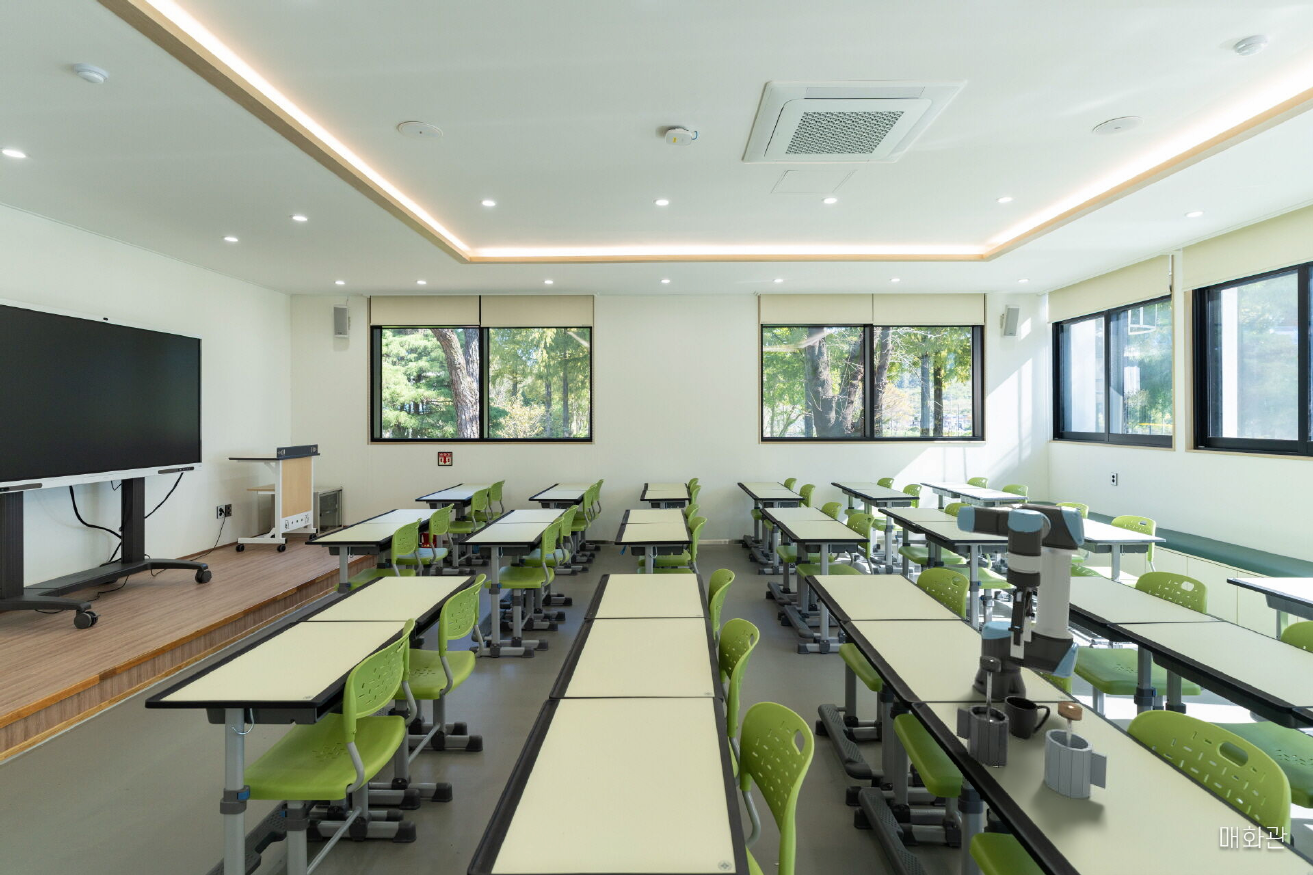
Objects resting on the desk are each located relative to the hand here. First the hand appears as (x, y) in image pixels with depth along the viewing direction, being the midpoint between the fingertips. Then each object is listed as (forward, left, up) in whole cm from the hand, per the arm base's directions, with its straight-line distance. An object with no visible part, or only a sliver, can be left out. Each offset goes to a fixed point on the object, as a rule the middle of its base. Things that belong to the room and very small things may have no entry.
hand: (1020, 648), depth 150 cm
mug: (-20, -1, -33) cm, 38 cm away
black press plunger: (0, -7, -23) cm, 24 cm away
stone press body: (0, +12, -32) cm, 35 cm away
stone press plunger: (0, +11, -29) cm, 31 cm away
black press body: (0, -8, -32) cm, 33 cm away
